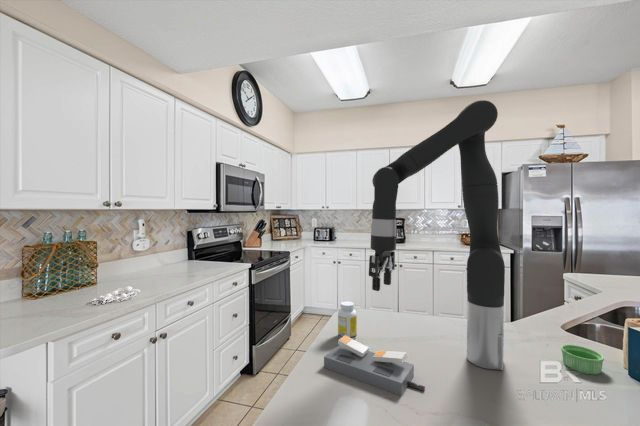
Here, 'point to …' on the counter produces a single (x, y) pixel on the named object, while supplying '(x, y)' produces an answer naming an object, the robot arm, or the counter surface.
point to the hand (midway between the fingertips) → (381, 287)
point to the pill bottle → (347, 320)
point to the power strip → (372, 370)
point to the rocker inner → (390, 356)
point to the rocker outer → (353, 346)
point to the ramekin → (582, 359)
